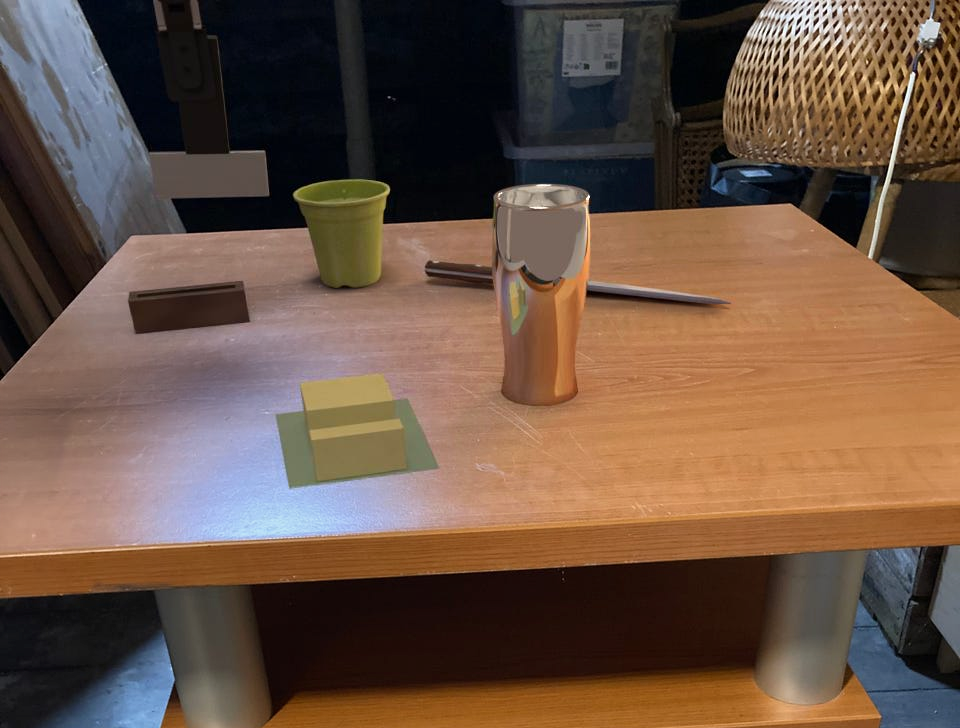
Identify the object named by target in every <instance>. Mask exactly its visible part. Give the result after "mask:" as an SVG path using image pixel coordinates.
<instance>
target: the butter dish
mask: <svg viewBox="0 0 960 728" xmlns="http://www.w3.org/2000/svg"><path fill="white" fill-rule="evenodd" d="M394 407H395V419H400V421H401V423H402V426H403V428H404V439H405V452H406V464H407V469H403V470H396V471H388V472H381V473H374V474H367V475H360V476H353V477H345V478H338V479H331V480H324V481H317V478H316V475H315V470H314V463H313V456H312V449H311V444H310V440H309V436H308V432H307V427H306V423H305V417H304V410H299V411H291V412H282V413H275V418H276V424H277V429H278V435H279V439H280V440H279V442H280V447H281V451H282V456H283V463H284V468H285V474H286V479H287V484H288V489H290V490H291V489H298V488H305V487H312V486H321V485H328V484H336V483H342V482H349V481H350V482H351V481H357V480H365V479H373V478H378V477H387V476H388V477H389V476H395V475H403V474H409V473H417V472H423V471H430V470H439V469H440V466H439V463H438V462H437V459H436V457H435V455H434V453H433V451H432V449H431V447H430V444H429V443H428V440H427V438H426V436H425V433H424V431H423V429H422V426H421V424H420V422H419V420H418V418H417V415H416V413H415V411H414V409H413V407H412V405H411V402H410V400H409V397H406V398H397V399H394Z"/></svg>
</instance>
